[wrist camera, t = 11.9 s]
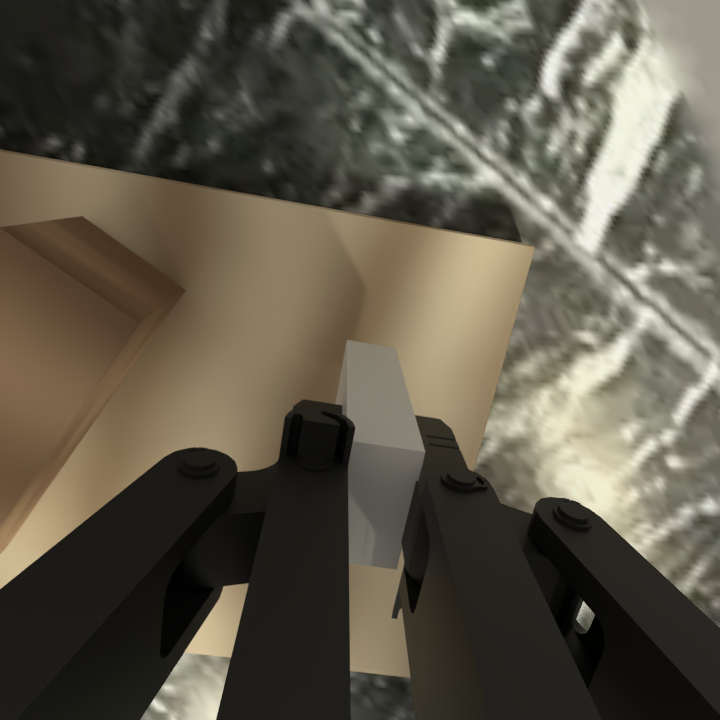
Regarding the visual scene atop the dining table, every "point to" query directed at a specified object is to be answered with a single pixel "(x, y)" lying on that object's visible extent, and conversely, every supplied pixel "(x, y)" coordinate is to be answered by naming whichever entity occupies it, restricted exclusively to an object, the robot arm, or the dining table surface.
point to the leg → (64, 346)
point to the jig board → (269, 346)
